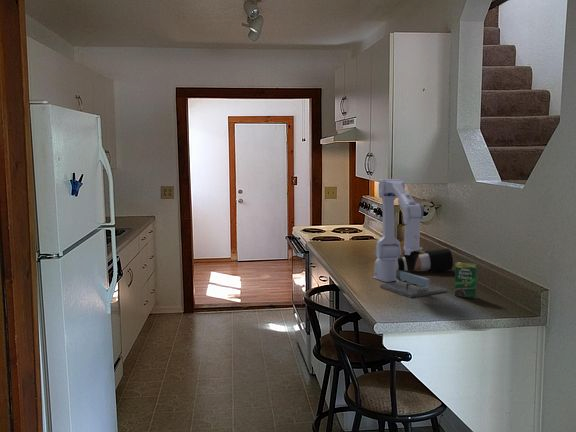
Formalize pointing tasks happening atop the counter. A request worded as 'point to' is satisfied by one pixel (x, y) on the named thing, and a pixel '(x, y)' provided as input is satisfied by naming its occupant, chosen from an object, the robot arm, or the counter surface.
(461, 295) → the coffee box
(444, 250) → the black banded cylinder
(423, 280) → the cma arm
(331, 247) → the counter surface
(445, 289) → the chassis
